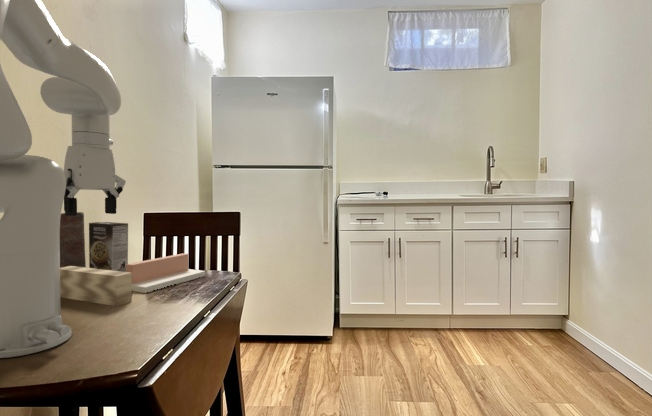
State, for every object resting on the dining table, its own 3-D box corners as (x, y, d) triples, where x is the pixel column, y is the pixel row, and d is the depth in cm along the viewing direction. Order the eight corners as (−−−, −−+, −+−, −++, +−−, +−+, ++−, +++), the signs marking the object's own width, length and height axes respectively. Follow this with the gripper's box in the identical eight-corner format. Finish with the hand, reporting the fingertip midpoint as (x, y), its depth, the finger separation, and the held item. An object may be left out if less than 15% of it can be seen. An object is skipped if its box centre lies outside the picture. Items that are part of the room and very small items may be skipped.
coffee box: (88, 275, 112) (87, 222, 112) (106, 271, 118) (106, 221, 118) (111, 278, 110) (111, 223, 109) (129, 273, 116) (128, 222, 115)
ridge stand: (205, 275, 114) (205, 255, 114) (145, 293, 94) (145, 267, 94) (171, 271, 120) (171, 251, 120) (107, 286, 100) (107, 262, 99)
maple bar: (131, 302, 87) (131, 272, 87) (116, 307, 83) (116, 276, 83) (71, 293, 94) (71, 265, 94) (55, 297, 90) (54, 268, 90)
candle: (60, 289, 96) (59, 212, 95) (47, 285, 100) (46, 211, 99) (91, 283, 103) (90, 211, 102) (78, 280, 106) (77, 210, 106)
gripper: (113, 147, 97) (114, 212, 97) (40, 137, 81) (42, 215, 81) (134, 146, 94) (134, 213, 94) (63, 136, 78) (64, 217, 79)
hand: (91, 214), depth 88 cm, fingers open, 9 cm apart
